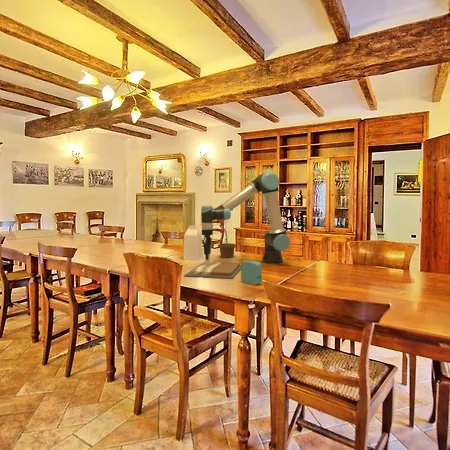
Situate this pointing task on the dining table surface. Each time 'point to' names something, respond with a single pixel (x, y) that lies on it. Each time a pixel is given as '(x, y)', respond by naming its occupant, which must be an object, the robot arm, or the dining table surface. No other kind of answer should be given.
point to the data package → (251, 272)
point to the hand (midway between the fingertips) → (207, 263)
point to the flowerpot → (226, 245)
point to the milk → (193, 244)
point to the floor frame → (220, 271)
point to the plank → (206, 268)
